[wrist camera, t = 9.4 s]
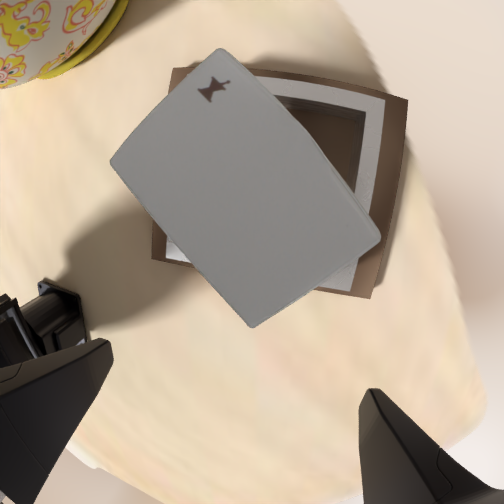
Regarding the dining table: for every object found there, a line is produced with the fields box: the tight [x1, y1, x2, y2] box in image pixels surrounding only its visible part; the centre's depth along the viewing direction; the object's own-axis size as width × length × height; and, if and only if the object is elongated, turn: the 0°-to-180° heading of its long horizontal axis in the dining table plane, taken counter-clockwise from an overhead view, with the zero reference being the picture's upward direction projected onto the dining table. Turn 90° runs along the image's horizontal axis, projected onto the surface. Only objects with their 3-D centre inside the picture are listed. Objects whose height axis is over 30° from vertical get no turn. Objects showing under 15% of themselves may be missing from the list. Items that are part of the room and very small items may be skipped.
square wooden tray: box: [152, 67, 408, 299], centre depth 18 cm, size 16×14×1 cm
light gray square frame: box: [166, 74, 385, 291], centre depth 16 cm, size 11×11×3 cm
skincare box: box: [110, 48, 381, 328], centre depth 12 cm, size 6×4×12 cm
